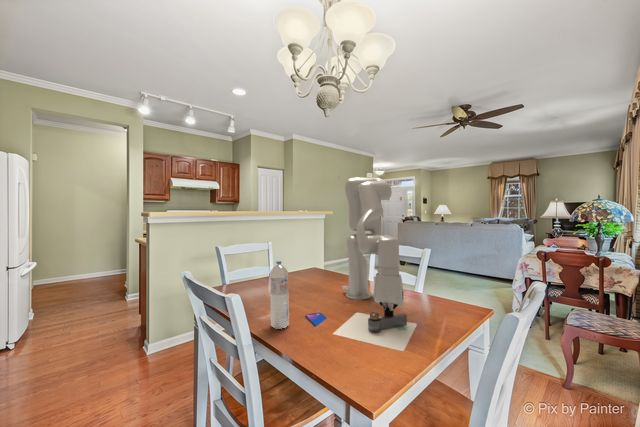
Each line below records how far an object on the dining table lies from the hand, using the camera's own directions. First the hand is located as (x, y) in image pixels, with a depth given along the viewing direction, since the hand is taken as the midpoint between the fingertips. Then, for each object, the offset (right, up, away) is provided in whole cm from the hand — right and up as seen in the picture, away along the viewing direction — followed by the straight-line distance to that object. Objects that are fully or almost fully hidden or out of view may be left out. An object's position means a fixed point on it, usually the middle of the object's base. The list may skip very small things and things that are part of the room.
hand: (389, 319), depth 100 cm
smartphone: (-26, -4, +7) cm, 27 cm away
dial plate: (-5, -3, -4) cm, 7 cm away
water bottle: (-41, -4, +3) cm, 41 cm away
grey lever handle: (-1, -1, -4) cm, 4 cm away
